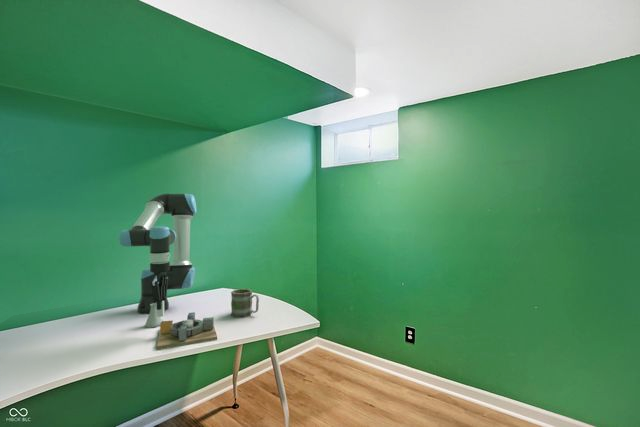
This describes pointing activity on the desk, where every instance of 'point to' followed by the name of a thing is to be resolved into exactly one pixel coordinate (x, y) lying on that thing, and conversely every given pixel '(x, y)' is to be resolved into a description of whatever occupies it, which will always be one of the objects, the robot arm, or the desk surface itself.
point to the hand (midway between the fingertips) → (160, 315)
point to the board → (173, 341)
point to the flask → (153, 317)
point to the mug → (243, 303)
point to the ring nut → (186, 327)
